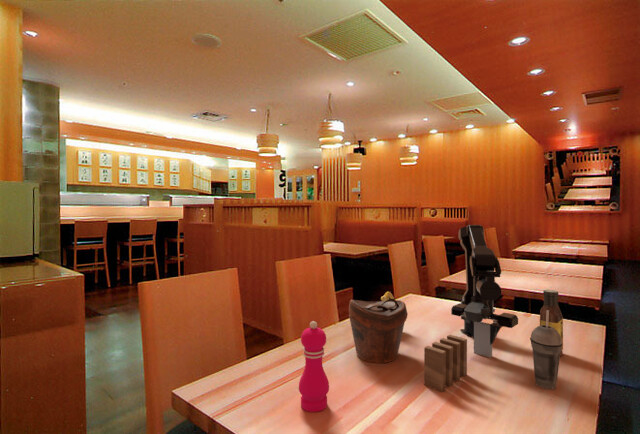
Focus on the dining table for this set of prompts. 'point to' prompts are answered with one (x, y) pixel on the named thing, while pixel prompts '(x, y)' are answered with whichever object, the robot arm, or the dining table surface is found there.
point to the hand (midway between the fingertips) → (482, 341)
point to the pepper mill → (313, 370)
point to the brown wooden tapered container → (377, 328)
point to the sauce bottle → (552, 312)
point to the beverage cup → (546, 354)
